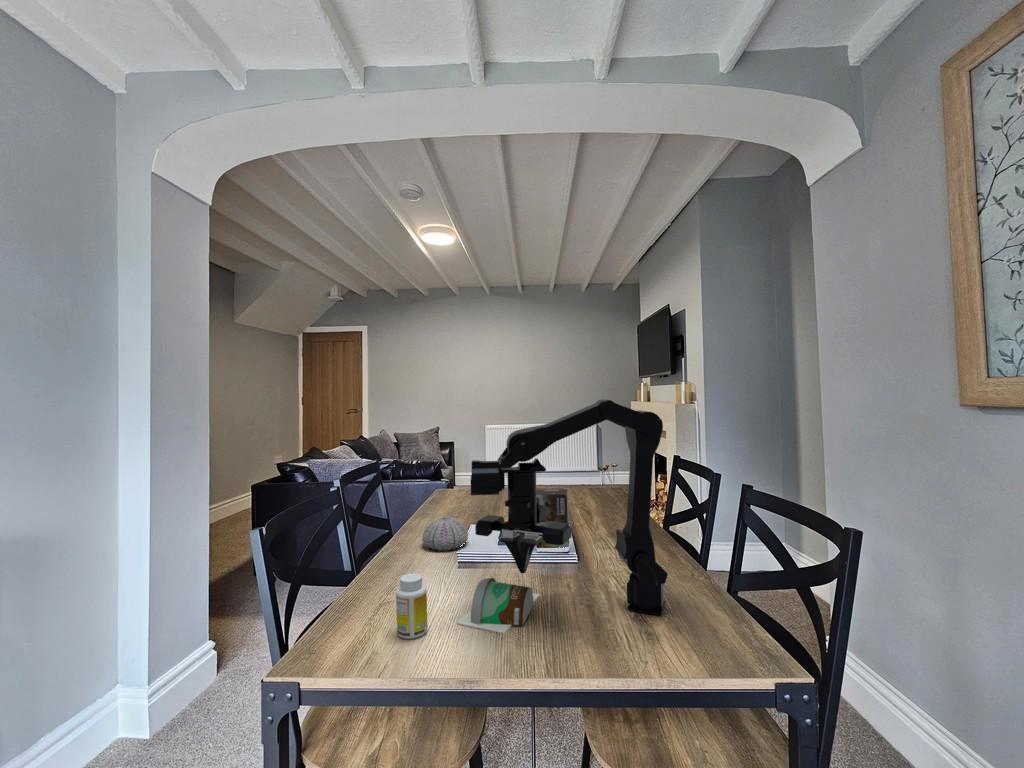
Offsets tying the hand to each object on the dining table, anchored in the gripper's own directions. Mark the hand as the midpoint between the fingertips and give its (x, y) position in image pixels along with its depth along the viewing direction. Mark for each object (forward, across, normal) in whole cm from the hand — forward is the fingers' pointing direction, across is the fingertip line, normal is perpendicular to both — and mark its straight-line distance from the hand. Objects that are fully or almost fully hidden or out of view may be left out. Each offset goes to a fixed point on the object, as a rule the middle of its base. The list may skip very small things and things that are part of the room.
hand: (523, 572), depth 98 cm
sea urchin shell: (+9, +38, -31) cm, 50 cm away
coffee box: (+8, +8, -39) cm, 41 cm away
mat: (+8, +5, 0) cm, 10 cm away
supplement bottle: (+8, +16, +15) cm, 23 cm away
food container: (+5, -1, 0) cm, 5 cm away
